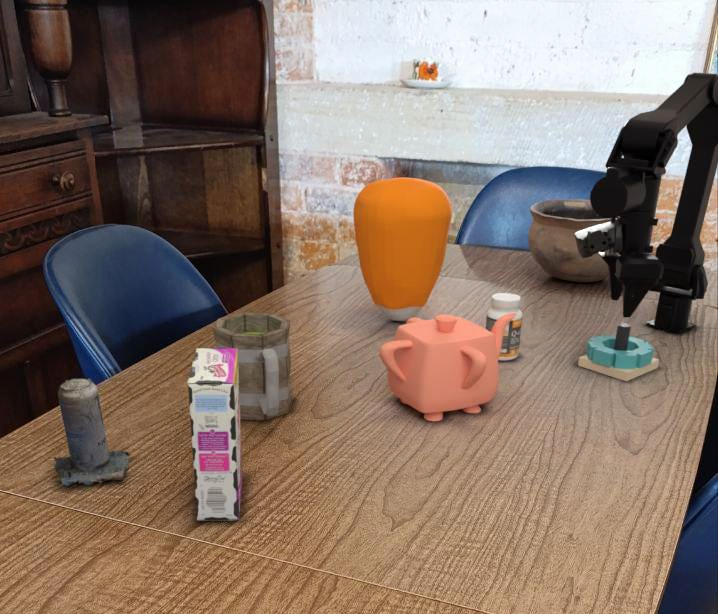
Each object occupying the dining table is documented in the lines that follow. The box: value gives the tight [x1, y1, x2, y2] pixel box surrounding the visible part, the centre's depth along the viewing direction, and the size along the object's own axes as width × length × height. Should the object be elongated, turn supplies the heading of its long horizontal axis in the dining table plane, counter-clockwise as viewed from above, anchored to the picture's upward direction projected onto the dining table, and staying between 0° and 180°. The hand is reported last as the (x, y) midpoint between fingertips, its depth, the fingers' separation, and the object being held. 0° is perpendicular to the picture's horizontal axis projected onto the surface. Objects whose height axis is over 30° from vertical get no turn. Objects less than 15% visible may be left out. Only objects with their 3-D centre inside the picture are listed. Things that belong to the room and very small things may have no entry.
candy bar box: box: [187, 347, 243, 522], centre depth 97 cm, size 11×5×16 cm, turn 5°
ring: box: [585, 334, 655, 369], centre depth 140 cm, size 10×10×2 cm
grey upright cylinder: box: [53, 377, 131, 488], centre depth 103 cm, size 9×8×12 cm
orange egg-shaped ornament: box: [352, 177, 453, 322], centre depth 154 cm, size 17×17×25 cm
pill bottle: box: [485, 292, 524, 362], centre depth 142 cm, size 6×6×10 cm
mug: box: [212, 312, 293, 421], centre depth 120 cm, size 16×11×12 cm
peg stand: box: [577, 322, 660, 382], centre depth 139 cm, size 9×9×7 cm
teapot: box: [378, 313, 517, 422], centre depth 123 cm, size 17×16×13 cm
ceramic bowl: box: [527, 198, 610, 283], centre depth 185 cm, size 22×22×15 cm
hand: (620, 308), depth 140 cm, fingers open, 9 cm apart
